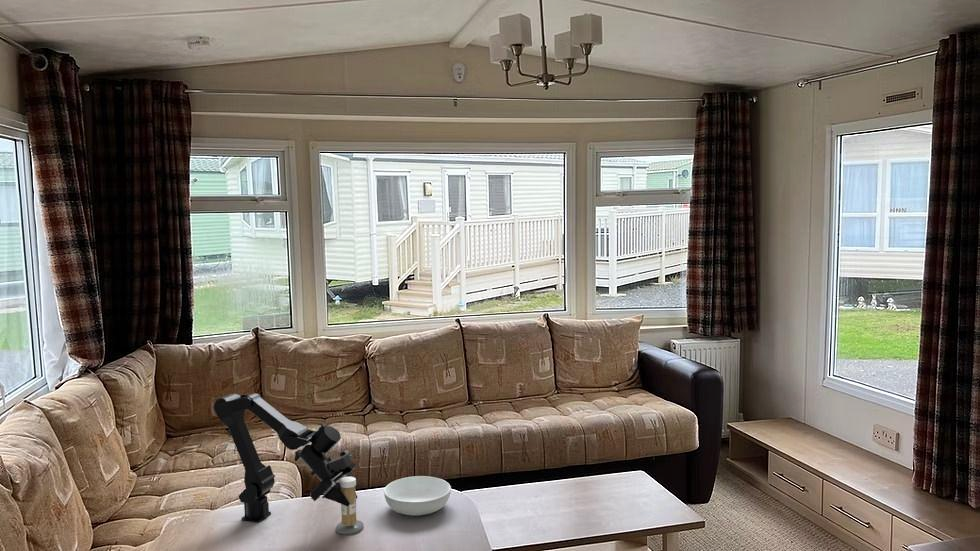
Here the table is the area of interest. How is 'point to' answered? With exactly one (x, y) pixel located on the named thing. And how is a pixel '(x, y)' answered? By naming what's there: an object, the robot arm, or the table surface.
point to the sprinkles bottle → (350, 494)
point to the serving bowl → (417, 495)
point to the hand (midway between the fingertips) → (352, 502)
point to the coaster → (349, 528)
